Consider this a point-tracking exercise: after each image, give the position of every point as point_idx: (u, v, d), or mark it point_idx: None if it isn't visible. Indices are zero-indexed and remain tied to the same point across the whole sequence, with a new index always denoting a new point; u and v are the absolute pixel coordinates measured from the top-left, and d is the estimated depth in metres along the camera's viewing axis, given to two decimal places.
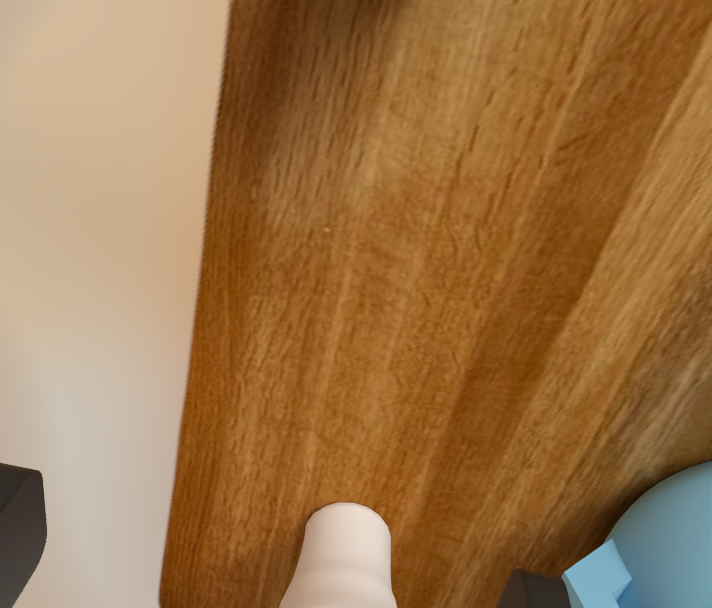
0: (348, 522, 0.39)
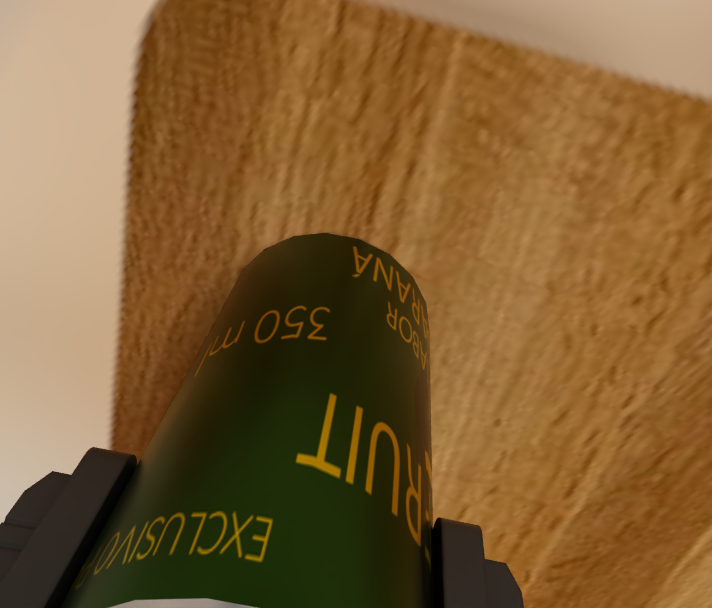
0: None
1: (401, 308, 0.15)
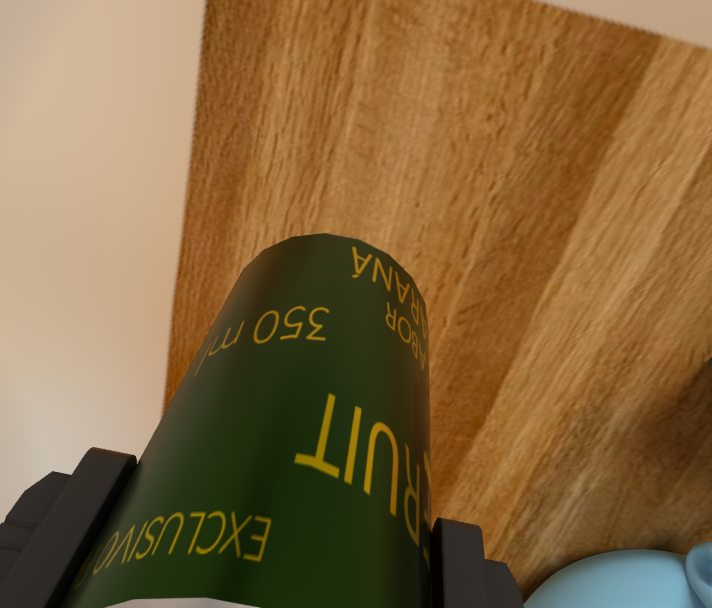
0: None
1: (401, 309, 0.15)
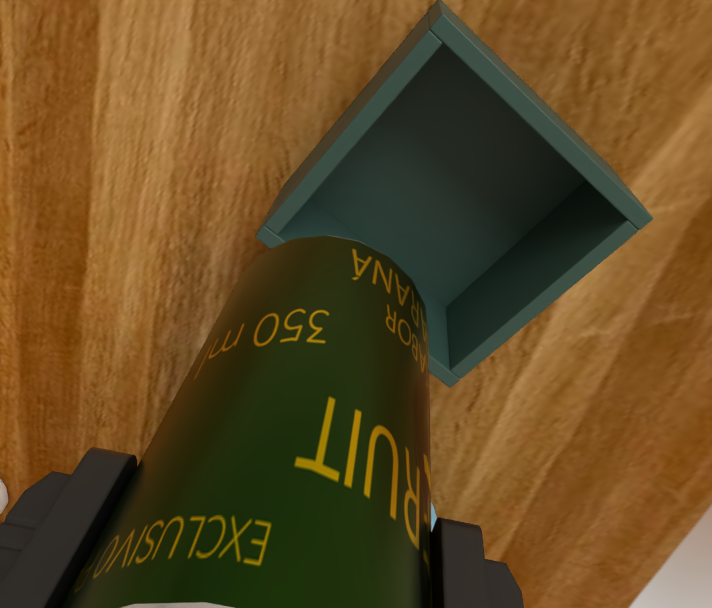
0: None
1: (401, 312, 0.15)
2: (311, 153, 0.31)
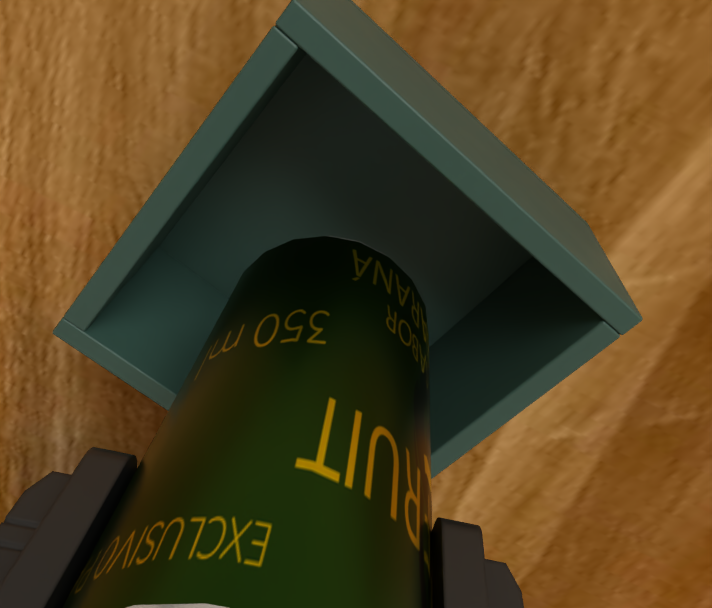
0: None
1: (401, 312, 0.15)
2: None
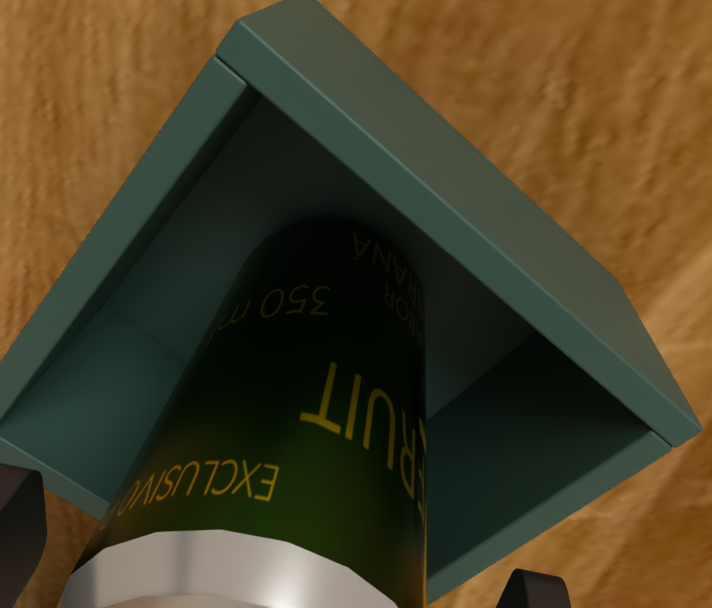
0: None
1: (399, 290, 0.15)
2: None
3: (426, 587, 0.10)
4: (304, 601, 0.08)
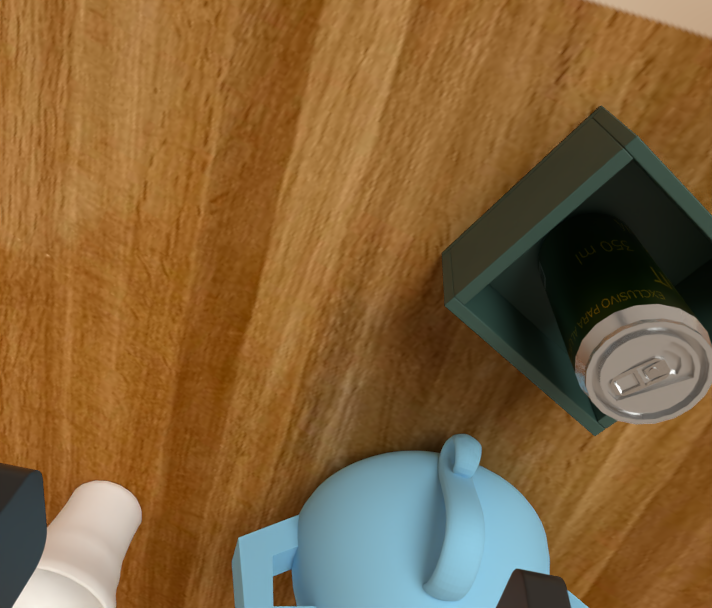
0: (95, 496, 0.47)
1: (643, 246, 0.33)
2: (474, 228, 0.36)
3: None
4: (688, 323, 0.25)
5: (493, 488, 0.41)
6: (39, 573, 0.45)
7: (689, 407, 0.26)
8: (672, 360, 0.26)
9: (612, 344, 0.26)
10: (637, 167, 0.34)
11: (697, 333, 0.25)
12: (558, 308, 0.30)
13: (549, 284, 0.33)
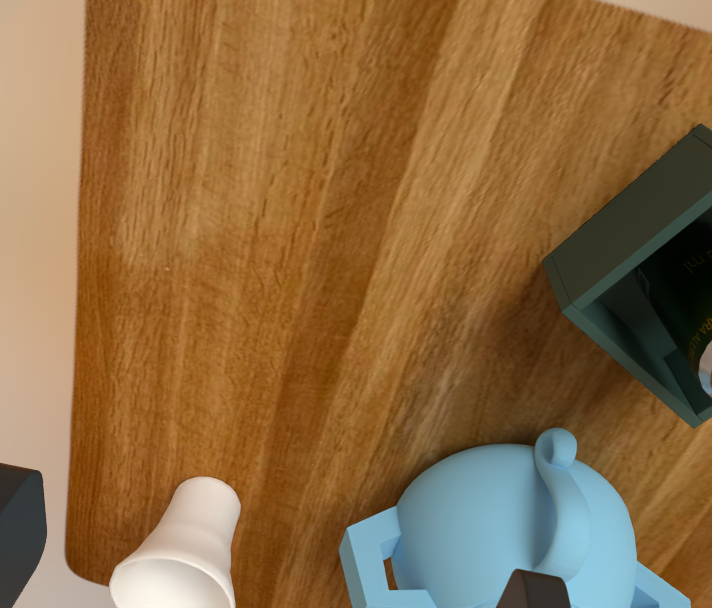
0: (201, 491, 0.50)
1: None
2: (576, 237, 0.39)
3: None
4: None
5: (586, 478, 0.44)
6: (154, 564, 0.49)
7: None
8: None
9: None
10: None
11: None
12: (671, 313, 0.33)
13: (655, 290, 0.35)
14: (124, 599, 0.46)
